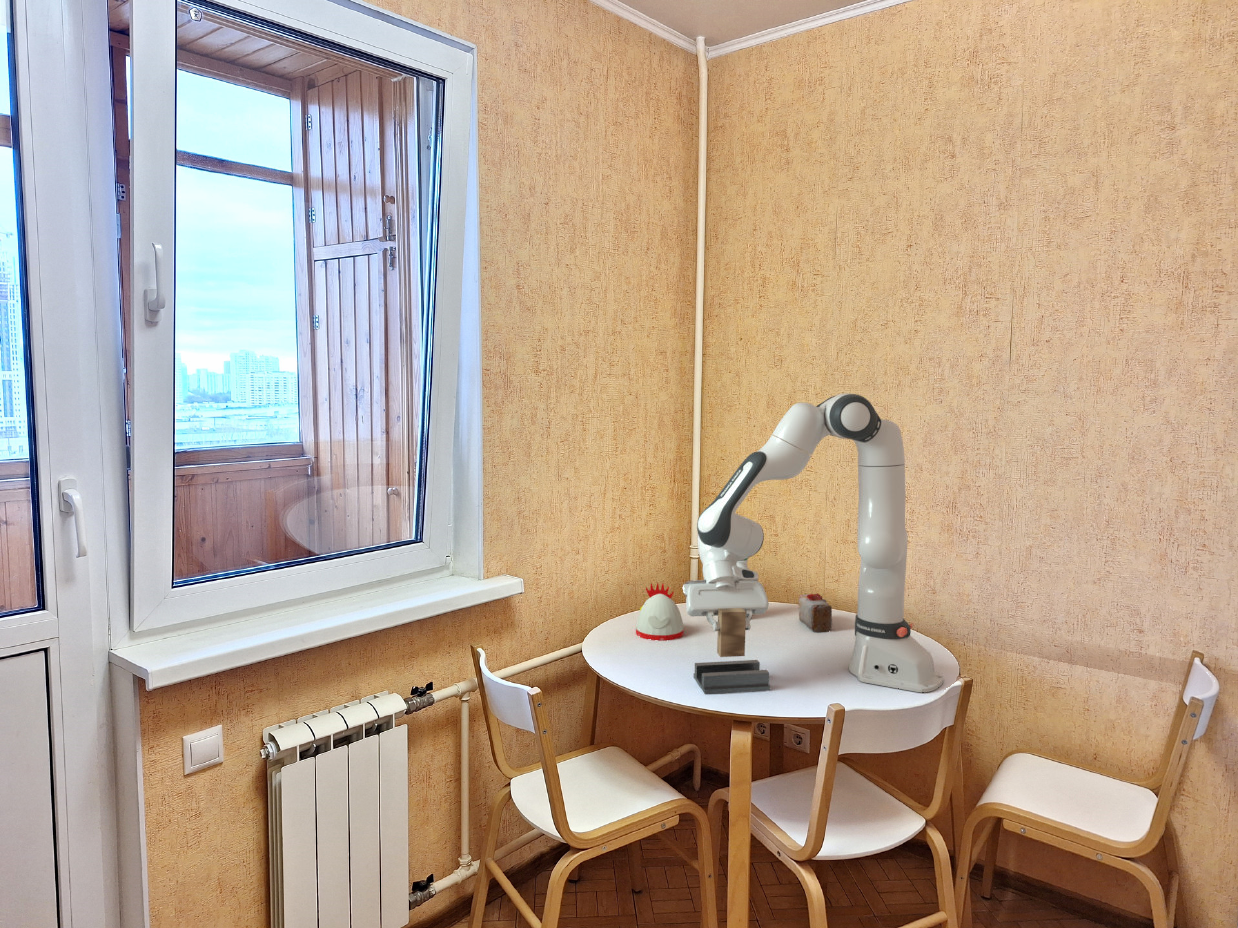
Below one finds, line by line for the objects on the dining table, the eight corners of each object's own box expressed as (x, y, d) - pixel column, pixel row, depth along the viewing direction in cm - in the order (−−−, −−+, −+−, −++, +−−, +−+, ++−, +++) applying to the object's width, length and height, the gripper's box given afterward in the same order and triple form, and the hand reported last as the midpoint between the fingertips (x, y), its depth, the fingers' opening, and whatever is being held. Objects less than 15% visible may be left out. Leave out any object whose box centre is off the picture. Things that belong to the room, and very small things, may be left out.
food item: (794, 619, 249) (795, 588, 248) (819, 618, 250) (820, 587, 249) (809, 633, 235) (810, 600, 234) (836, 632, 236) (837, 599, 235)
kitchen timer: (637, 625, 242) (638, 576, 240) (683, 626, 241) (684, 577, 239) (634, 640, 228) (634, 588, 227) (683, 641, 227) (683, 589, 225)
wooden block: (740, 651, 197) (742, 607, 196) (744, 655, 194) (745, 611, 193) (717, 652, 196) (718, 608, 195) (720, 657, 193) (721, 612, 192)
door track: (755, 673, 202) (755, 658, 202) (770, 690, 191) (770, 674, 191) (693, 677, 200) (693, 661, 199) (704, 694, 189) (705, 677, 188)
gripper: (683, 574, 198) (692, 624, 190) (763, 572, 201) (775, 621, 193) (679, 587, 203) (687, 637, 194) (757, 584, 206) (768, 634, 198)
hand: (732, 629), depth 194 cm, fingers closed on wooden block, 6 cm apart
